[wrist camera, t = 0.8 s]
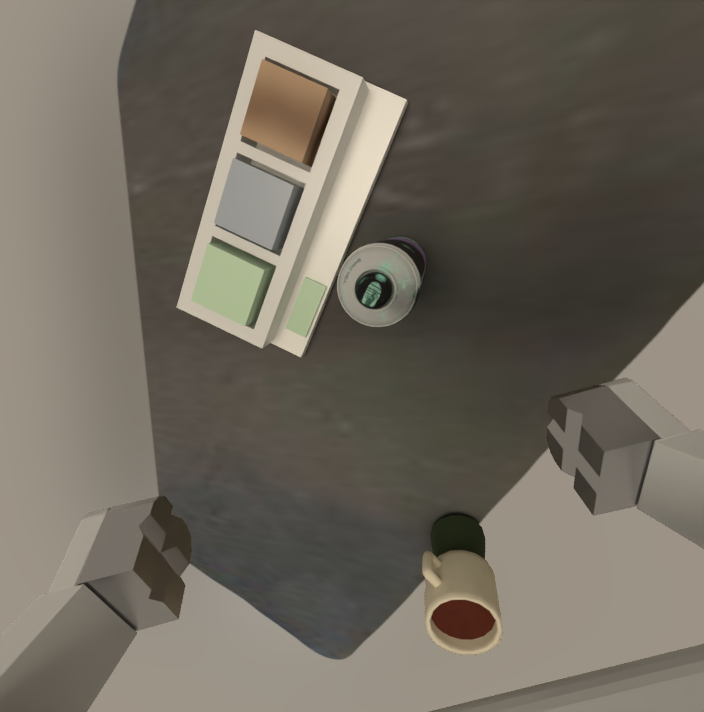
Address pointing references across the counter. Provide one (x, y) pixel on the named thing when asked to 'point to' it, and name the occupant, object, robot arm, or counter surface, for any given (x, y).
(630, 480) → the robot arm
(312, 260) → the keypad
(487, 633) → the character mug
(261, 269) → the key green
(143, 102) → the counter surface
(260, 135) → the key walnut
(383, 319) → the spray can
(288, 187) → the key grey
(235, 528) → the counter surface
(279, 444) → the counter surface
